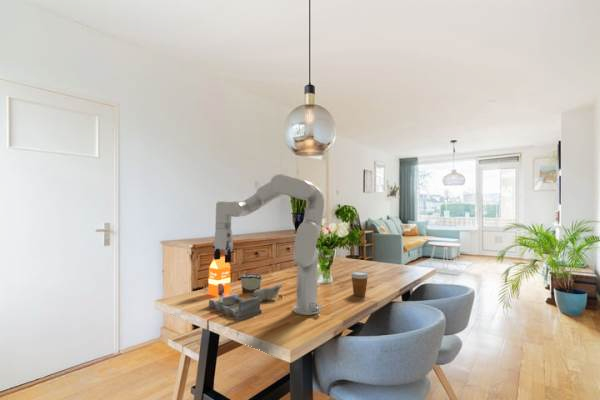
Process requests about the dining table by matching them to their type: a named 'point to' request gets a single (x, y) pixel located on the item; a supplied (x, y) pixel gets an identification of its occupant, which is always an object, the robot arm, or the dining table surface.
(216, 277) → the orange juice
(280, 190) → the robot arm
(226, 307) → the nut press
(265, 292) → the decorative bird
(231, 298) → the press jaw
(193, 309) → the dining table surface
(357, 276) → the disposable coffee cup
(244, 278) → the food container
